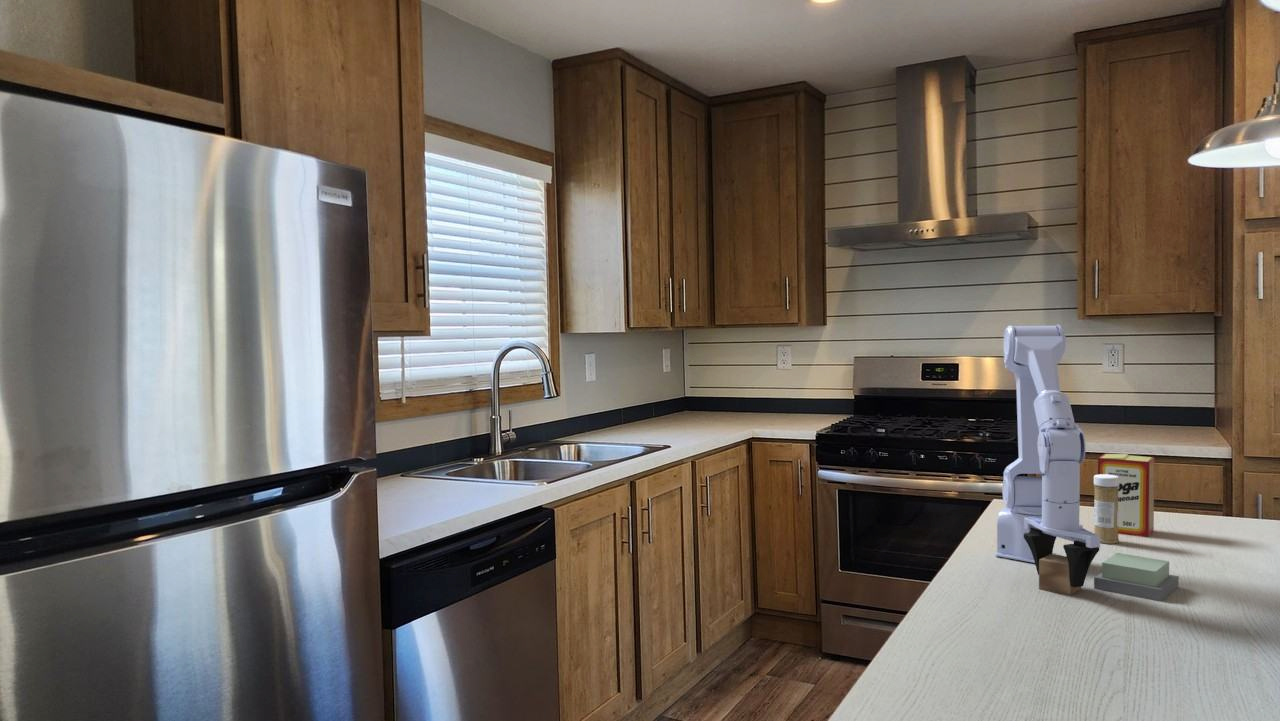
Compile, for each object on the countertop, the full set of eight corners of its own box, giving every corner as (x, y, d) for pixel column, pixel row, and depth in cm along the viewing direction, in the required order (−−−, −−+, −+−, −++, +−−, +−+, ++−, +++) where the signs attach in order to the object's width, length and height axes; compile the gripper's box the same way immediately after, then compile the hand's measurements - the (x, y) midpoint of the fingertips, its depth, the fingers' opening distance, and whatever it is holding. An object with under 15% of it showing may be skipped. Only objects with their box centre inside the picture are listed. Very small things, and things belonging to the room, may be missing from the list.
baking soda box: (1153, 530, 188) (1154, 455, 187) (1148, 537, 183) (1149, 459, 182) (1103, 525, 194) (1104, 452, 193) (1097, 531, 189) (1098, 456, 188)
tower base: (1094, 592, 150) (1094, 577, 149) (1114, 579, 157) (1114, 565, 156) (1160, 604, 142) (1160, 589, 142) (1178, 590, 149) (1178, 576, 149)
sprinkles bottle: (1123, 542, 179) (1123, 475, 178) (1111, 545, 177) (1111, 478, 176) (1100, 537, 183) (1101, 472, 182) (1088, 540, 180) (1089, 475, 180)
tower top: (1102, 577, 149) (1102, 562, 149) (1117, 567, 155) (1117, 552, 155) (1155, 586, 144) (1155, 571, 144) (1169, 576, 149) (1169, 561, 149)
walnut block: (1038, 588, 150) (1039, 559, 149) (1050, 582, 153) (1050, 553, 153) (1069, 595, 146) (1070, 565, 146) (1081, 588, 149) (1081, 559, 149)
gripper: (1115, 506, 143) (1114, 589, 144) (1046, 490, 157) (1046, 566, 158) (1080, 510, 141) (1080, 594, 142) (1014, 493, 155) (1014, 570, 155)
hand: (1060, 580), depth 149 cm, fingers closed on walnut block, 7 cm apart
